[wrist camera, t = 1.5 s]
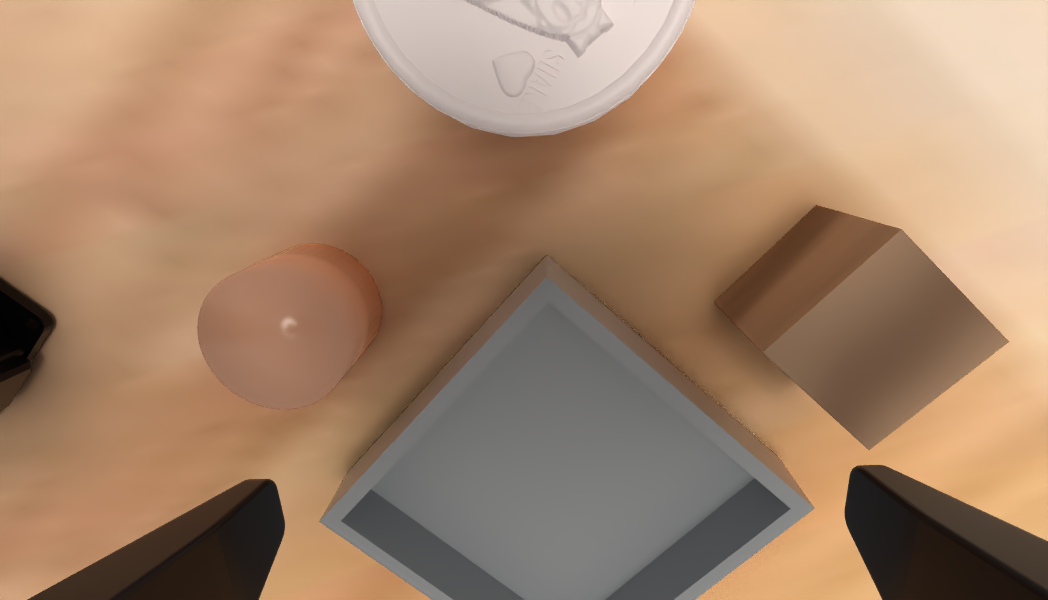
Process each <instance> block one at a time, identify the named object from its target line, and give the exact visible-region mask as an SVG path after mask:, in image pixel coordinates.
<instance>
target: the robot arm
mask: <svg viewBox="0 0 1048 600" xmlns="http://www.w3.org/2000/svg"><path fill="white" fill-rule="evenodd" d="M35 321H36V322H37V324H38V325H37V324H36V323H35ZM52 326H53V323H52V319H51V318H50V316H49V315H48V314H47V313H46V312H44V311H43V310H42V309H40V308H39V307H37V306H36V305H34V304H33V303H31V302H30V301H29V300H27V299H26V298H24V297H23V296H21V295H20V294H19V293H17V292H16V291H14V290H13V289H11V288H10V287H9V286H7V285H6V284H4V283H3V282H1V281H0V411H1V410H2V409H4V408H6V407H7V406H9V405H10V403H11V401H12V400H13V398H14V397H15V395H16V393H17V392H18V390H19V389H20V387H21V385H22V384H23V382H24V381H25V379H26V377H27V376H28V374H29V373H30V371H31V370H32V359H33V358H34V356H35V355H36V353H37V351H38V350H39V348H40V347H41V345H42V343H43V342H44V340H45V339H46V337H47V335H48V334H49V332H50V331H51V329H52ZM845 520H846V524H847V527H848V529H849V532H850V534H851V536H852V538H853V540H854V542H855V544H856V546H857V548H858V550H859V552H860V554H861V556H862V558H863V561H864V563H865V565H866V567H867V569H868V571H869V573H870V575H871V577H872V579H873V581H874V583H875V585H876V587H877V590H878V592H879V594H880V596H881V598H882V600H1048V541H1046V540H1044V539H1042V538H1040V537H1037V536H1035V535H1033V534H1031V533H1029V532H1027V531H1024V530H1022V529H1020V528H1018V527H1016V526H1014V525H1012V524H1009V523H1007V522H1005V521H1003V520H1001V519H999V518H996V517H994V516H992V515H990V514H988V513H986V512H984V511H981V510H979V509H977V508H975V507H973V506H971V505H968V504H966V503H964V502H962V501H960V500H958V499H955V498H953V497H951V496H949V495H947V494H945V493H943V492H940V491H938V490H936V489H934V488H932V487H930V486H927V485H925V484H923V483H921V482H919V481H917V480H915V479H912V478H910V477H908V476H906V475H904V474H902V473H899V472H897V471H895V470H893V469H891V468H889V467H886V466H883V465H864V466H856V467H854V468H853V469H852V471H851V473H850V478H849V484H848V491H847V498H846V505H845ZM284 530H285V520H284V516H283V511H282V507H281V503H280V498H279V494H278V490H277V486H276V484H275V483H274V481H272V480H270V479H249V480H245V481H243V482H241V483H239V484H237V485H235V486H234V487H232V488H230V489H228V490H226V491H225V492H223V493H221V494H219V495H217V496H215V497H214V498H212V499H210V500H208V501H206V502H204V503H203V504H201V505H199V506H197V507H195V508H194V509H192V510H190V511H188V512H186V513H184V514H183V515H181V516H179V517H177V518H175V519H174V520H172V521H170V522H168V523H166V524H164V525H163V526H161V527H159V528H157V529H155V530H153V531H152V532H150V533H148V534H146V535H144V536H143V537H141V538H139V539H137V540H135V541H133V542H132V543H130V544H128V545H126V546H124V547H122V548H121V549H119V550H117V551H115V552H113V553H112V554H110V555H108V556H106V557H104V558H102V559H101V560H99V561H97V562H95V563H93V564H92V565H90V566H88V567H86V568H84V569H82V570H81V571H79V572H77V573H75V574H73V575H71V576H70V577H68V578H66V579H64V580H62V581H61V582H59V583H57V584H55V585H53V586H51V587H50V588H48V589H46V590H44V591H42V592H40V593H39V594H37V595H35V596H33V597H31V598H30V599H28V600H259V597H260V595H261V592H262V590H263V587H264V585H265V582H266V580H267V577H268V574H269V572H270V569H271V567H272V564H273V562H274V559H275V557H276V554H277V551H278V549H279V546H280V544H281V541H282V538H283V535H284Z"/></svg>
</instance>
